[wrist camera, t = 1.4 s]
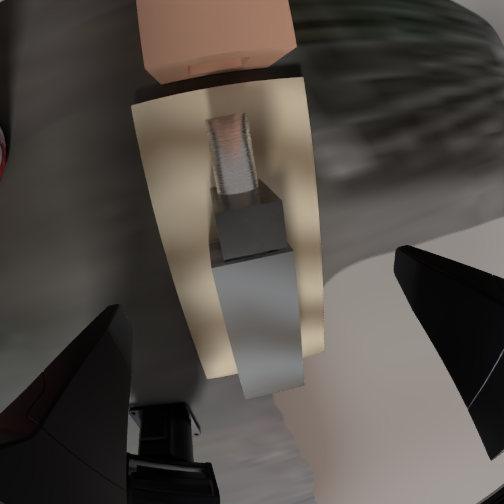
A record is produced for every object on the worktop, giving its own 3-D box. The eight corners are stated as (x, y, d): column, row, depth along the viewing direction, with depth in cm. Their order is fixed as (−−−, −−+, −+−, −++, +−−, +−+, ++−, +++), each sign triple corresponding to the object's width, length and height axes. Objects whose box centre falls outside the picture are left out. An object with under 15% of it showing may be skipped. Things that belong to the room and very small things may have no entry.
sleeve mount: (320, 345, 28) (339, 382, 24) (206, 371, 27) (210, 413, 23) (298, 78, 18) (327, 68, 14) (134, 106, 17) (114, 102, 13)
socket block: (267, 67, 18) (296, 46, 12) (161, 84, 17) (144, 68, 11) (256, 3, 16) (279, -36, 10) (151, 19, 15) (134, -18, 9)
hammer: (281, 342, 25) (300, 390, 20) (244, 350, 25) (256, 401, 20) (249, 112, 18) (269, 109, 12) (197, 121, 17) (196, 120, 12)
